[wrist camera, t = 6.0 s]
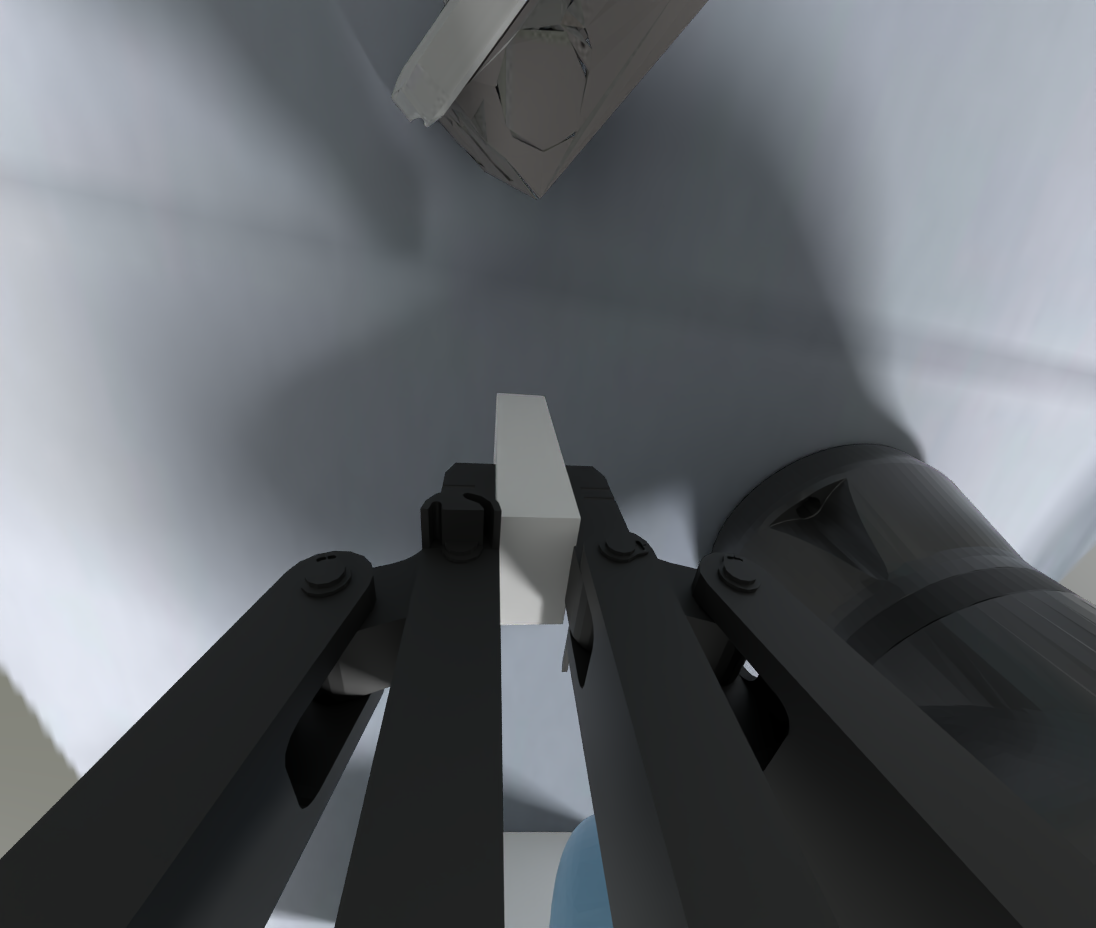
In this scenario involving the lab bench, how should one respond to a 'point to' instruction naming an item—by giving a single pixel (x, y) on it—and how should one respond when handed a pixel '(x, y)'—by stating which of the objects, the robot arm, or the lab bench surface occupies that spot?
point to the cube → (530, 876)
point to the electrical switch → (534, 76)
